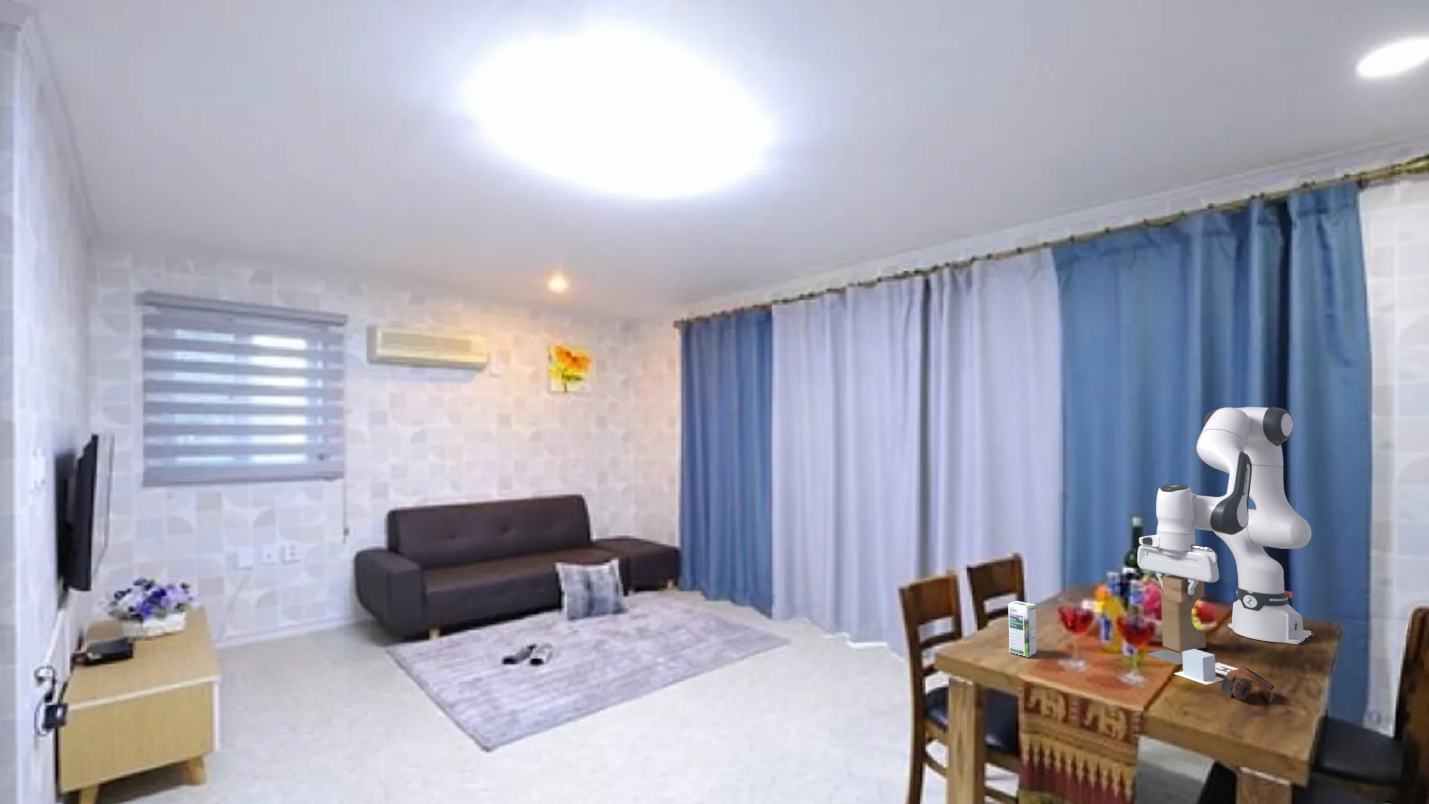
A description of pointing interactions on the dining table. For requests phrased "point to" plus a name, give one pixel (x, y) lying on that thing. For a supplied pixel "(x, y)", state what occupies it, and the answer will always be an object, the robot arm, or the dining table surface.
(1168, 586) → the walnut block
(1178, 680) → the dining table surface
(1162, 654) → the slate coaster
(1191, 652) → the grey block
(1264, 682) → the camera in leather case
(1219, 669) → the code tile
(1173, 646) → the decorative block
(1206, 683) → the code tile
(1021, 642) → the syrup box
